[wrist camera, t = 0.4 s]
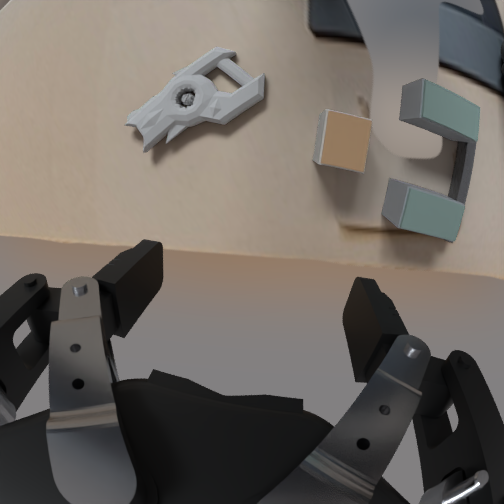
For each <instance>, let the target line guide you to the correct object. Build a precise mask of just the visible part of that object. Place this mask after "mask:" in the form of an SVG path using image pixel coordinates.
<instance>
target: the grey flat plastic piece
mask: <svg viewBox="0 0 504 504" xmlns="http://www.w3.org/2000/svg"><path fill="white" fill-rule="evenodd" d="M235 55H236V52H235V51H231V50H228V49H224V48H220V47H215V48H213V49H212V50H210V51H209V52H207V53H206V54H205V55H203V56H202V57H200V58H199V59H197V60H196V61H195V62H193V63H192V64H190V65H189V66H187V67H185V68H183V69H180V70H178V71H176V72H174V73H172V74H174V75H176V76H175V77H173V78H172V79H171V80H170V81H169V83H168V84H167V85H166V86H165V88H164V89H163V90H162V91H161V92H160V93H159V94H158V95H156V96H153V97H152V98H151V99H150V100H148V101H147V102H146V103H145V104H144V105H143V106H142V107H141V108H140V109H137V110H134V111H132V112H131V113H130V114H129V115H128V116H127V119H128V122H127V123H126V124H125V125H126V126H132V127H137V129H138V130H139V132H140V133H141V134H142V136H143V138H144V146H143V153H145V152H148V151H149V150H150V149H151V148H152V147H153V146H154V145H155V144H157V143H158V142H159V141H160V140H161V139H162V138H163V137H165V136H166V135H167V134H168V136H167V141H166V144H167V143H168V142H169V141H171V140H172V139H173V138H175V137H176V136H177V135H178V134H180V133H181V132H182V131H184V130H185V129H186V128H188V127H193V126H195V125H197V124H199V123H202V122H204V121H208V122H213V123H218V124H223V125H225V124H226V123H228V122H229V121H231V120H232V119H234V118H235V117H237V116H238V115H239V114H241V113H242V112H244V111H245V110H247V109H248V108H250V107H251V106H253V105H255V104H256V103H258V102H259V101H261V100H262V99H264V80H265V73H263V74H261V75H260V76H258V77H256V78H255V79H254V78H253V77H251V76H250V75H249V74H248V73H247V72H245V71H244V70H243V69H242V68H240V67H239V66H238V65H236V64H235V63H234V62H233V61H231V60H230V58H232V57H233V56H235ZM216 67H218V68H220V69H221V70H222V71H224V72H225V73H226V74H227V75H229V76H230V77H231V78H233V79H234V80H235V81H236V82H238V83H239V84H240V85H241V86H242V87H241V88H239V89H238V90H236V91H235V92H233V93H228V92H221V91H218V90H217V88H216V86H215V85H214V83H213V82H212V81H211V80H209V79H208V78H206V77H204V76H205V75H206V74H208V73H209V72H210V71H212V70H213V69H215V68H216ZM191 91H193V92H194V93H196V94H195V96H193V95H192V93H188V94H187V93H186V92H191ZM181 98H182V100H181ZM181 101H183V104H184V105H190V104H191V106H187V108H185V107H183V106H182V105H181V104H182V102H181ZM192 103H193V105H192Z"/></svg>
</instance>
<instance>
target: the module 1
mask: <svg viewBox="0 0 504 504" xmlns="http://www.w3.org/2000/svg"><path fill="white" fill-rule="evenodd" d="M371 127H372V120H371V119H367V118H364V117H360V116H356V115H352V114H348V113H344V112H339V111H335V110H330V109H326V110H324V111H323V112H322V113H320V114H319V122H318V129H317V135H316V142H315V149H314V155H313V161H314V162H316V163H317V164H320V165H325V166H330V167H335V168H340V169H344V170H349V171H353V172H358V173H362V174H364V170H365V164H366V159H367V153H368V147H369V141H370V134H371Z"/></svg>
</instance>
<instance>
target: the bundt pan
mask: <svg viewBox="0 0 504 504" xmlns="http://www.w3.org/2000/svg"><path fill="white" fill-rule="evenodd" d="M501 56H502V59H503V62H504V41H503V43H502V46H501ZM501 71H502V73H503V74H504V64H503V65H502V67H501Z"/></svg>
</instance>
